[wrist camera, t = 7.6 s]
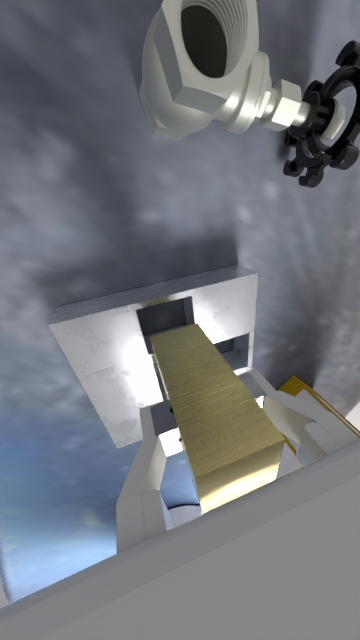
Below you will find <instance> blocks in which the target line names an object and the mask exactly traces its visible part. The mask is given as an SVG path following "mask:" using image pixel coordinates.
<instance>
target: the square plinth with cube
mask: <svg viewBox="0 0 360 640" xmlns="http://www.w3.org/2000/svg"><path fill="white" fill-rule="evenodd" d="M257 283H258V273H257V272H255V271H253V270H251V269H248V268H246V267H244V266H242V265H240V264H237V265H233V266H228V267H224V268H220V269H216V270H211V271H207V272H203V273H199V274H194V275H190V276H186V277H182V278H177V279H173V280H169V281H165V282H160V283H156V284H152V285H148V286H143V287H139V288H135V289H131V290H126V291H122V292H118V293H114V294H109V295H105V296H101V297H97V298H92V299H88V300H84V301H80V302H75V303H71V304H67V305H63V306H58V307H57V309H56V311H55V313H54V315H53V317H52V318H51V320H50V322H49V324H48V326H49V328H50V330H51V331H52V333H53V335H54V337H55V339H56V340H57V342H58V344H59V346H60V347H61V349H62V351H63V353H64V355H65V356H66V358H67V360H68V362H69V363H70V365H71V367H72V369H73V371H74V372H75V374H76V376H77V378H78V379H79V381H80V383H81V385H82V387H83V388H84V390H85V392H86V394H87V395H88V397H89V399H90V401H91V403H92V404H93V406H94V408H95V410H96V411H97V413H98V415H99V417H100V419H101V420H102V422H103V424H104V426H105V427H106V429H107V431H108V433H109V435H110V436H111V438H112V440H113V442H114V443H115V445H116V447H117V449H119V448H121V447H124V446H127V445H129V444H132V443H135V442H137V441H140V440H143V434H142V427H141V421H140V414H139V409H140V408H143V407H146V406H149V405H152V404H155V403H158V402H161V401H164V400H167V396H166V392H165V389H164V386H163V383H162V379H161V376H160V373H159V369H158V365H157V361H156V358H155V354H154V350H153V346H152V343H151V339H150V337H151V336H154V335H158V334H161V333H165V332H168V331H172V330H175V329H179V328H182V327H186V326H189V325H193V324H196V323H198V325H199V326H200V327H201V329H202V330H203V331H204V333H205V334H206V335H207V337H208V338H209V339H210V340H211V342H212V343H213V344H214V343H218V342H221V341H224V340H227V339H231V338H234V349H233V350H231V351H228V352H225V353H221V355H222V356H223V358H224V359H225V360H226V362H227V363H228V364H229V366H230V367H231V368H232V370H233V371H234V372H235V374H236V375H238V374H240V373H243V372H247V371H250V370H252V356H253V342H254V327H255V312H256V297H257ZM180 298H183V305H184V312H185V319H186V324H185V325H182V326H178V327H175V328H171V329H167V330H164V331H160V332H157V333H153V334H150V335H146V336H143V333H142V330H141V326H140V323H139V319H138V316H137V312H136V310H137V309H141V308H145V307H149V306H153V305H157V304H161V303H165V302H169V301H173V300H177V299H180Z"/></svg>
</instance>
